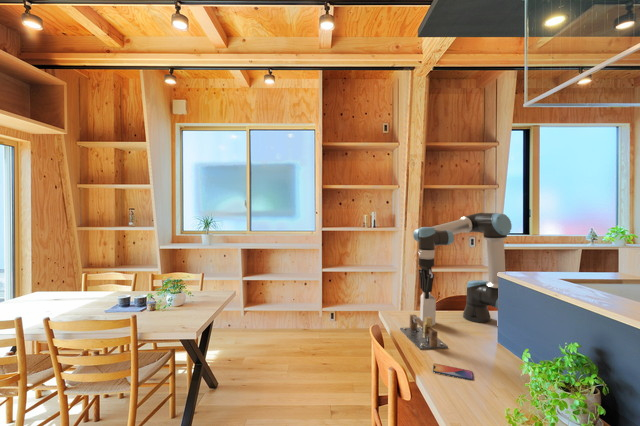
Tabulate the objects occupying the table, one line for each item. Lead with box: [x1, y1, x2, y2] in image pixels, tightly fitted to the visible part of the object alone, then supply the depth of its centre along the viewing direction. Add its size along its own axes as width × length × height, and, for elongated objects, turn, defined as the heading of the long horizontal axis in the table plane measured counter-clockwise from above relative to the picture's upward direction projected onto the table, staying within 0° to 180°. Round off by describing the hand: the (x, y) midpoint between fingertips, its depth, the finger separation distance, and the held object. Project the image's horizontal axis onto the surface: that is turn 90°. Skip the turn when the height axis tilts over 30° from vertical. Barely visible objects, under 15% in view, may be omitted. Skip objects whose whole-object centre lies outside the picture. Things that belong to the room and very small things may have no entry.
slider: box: [423, 317, 433, 341], centre depth 162 cm, size 4×2×11 cm, turn 98°
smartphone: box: [432, 363, 474, 381], centre depth 134 cm, size 7×15×1 cm, turn 68°
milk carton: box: [419, 292, 437, 326], centre depth 191 cm, size 7×7×19 cm
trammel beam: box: [409, 314, 438, 347], centre depth 168 cm, size 3×25×7 cm, turn 8°
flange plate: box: [399, 326, 449, 350], centre depth 169 cm, size 14×25×2 cm, turn 8°
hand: (425, 304), depth 166 cm, fingers closed
